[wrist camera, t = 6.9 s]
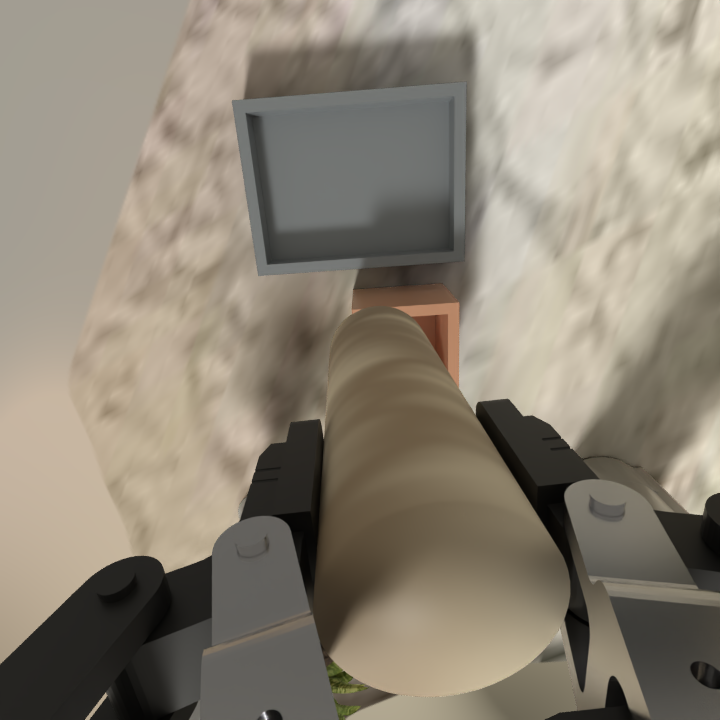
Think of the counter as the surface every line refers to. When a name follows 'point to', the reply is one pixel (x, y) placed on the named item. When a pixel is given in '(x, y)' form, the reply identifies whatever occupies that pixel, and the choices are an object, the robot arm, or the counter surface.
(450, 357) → the terracotta open box
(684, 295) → the counter surface
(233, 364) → the counter surface
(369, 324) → the peg
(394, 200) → the tray
